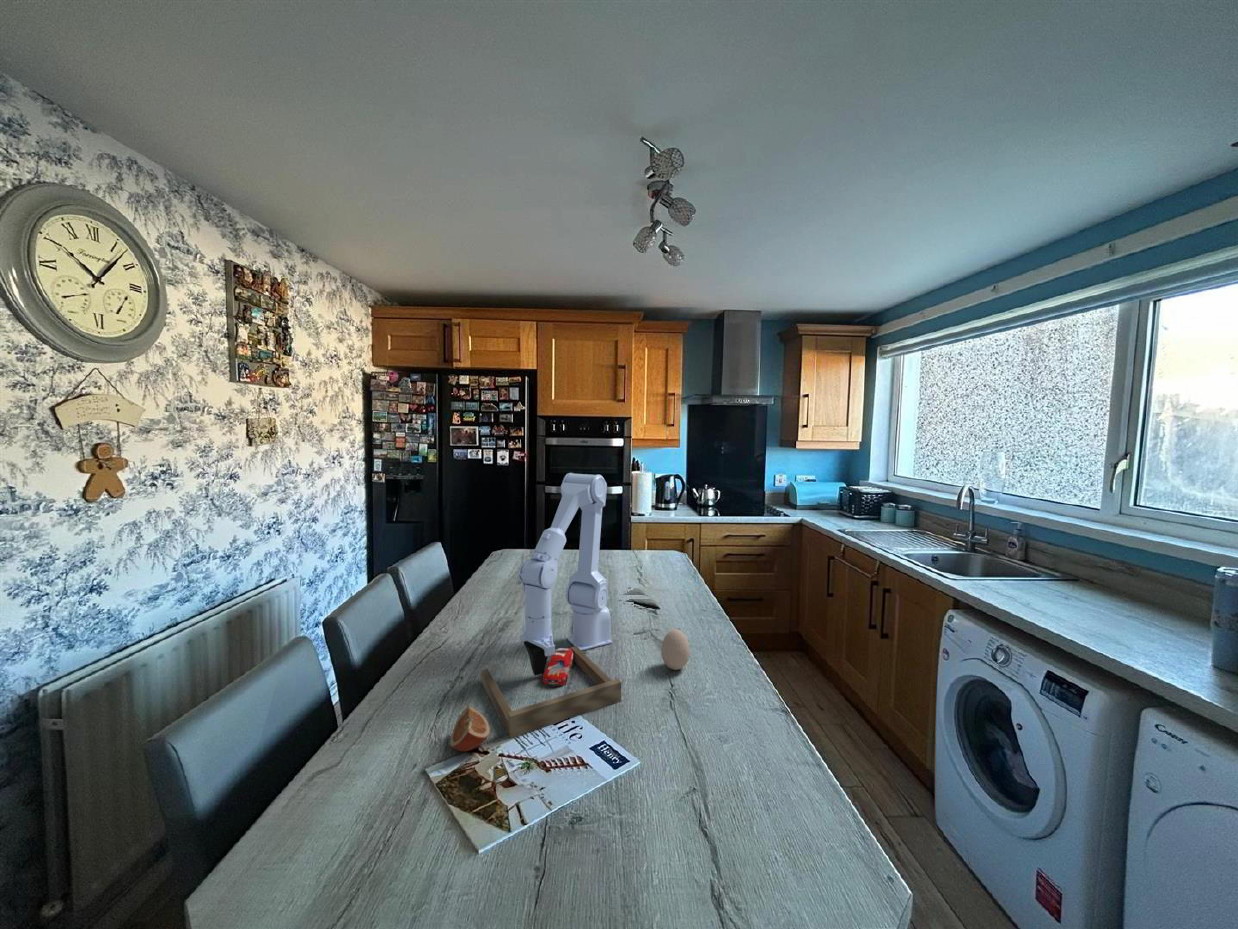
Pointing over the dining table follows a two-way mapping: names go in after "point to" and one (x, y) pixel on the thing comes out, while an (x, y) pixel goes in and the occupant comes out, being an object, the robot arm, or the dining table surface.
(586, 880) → the dining table surface
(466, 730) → the fruit slice
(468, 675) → the dining table surface
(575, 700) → the garage bay
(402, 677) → the dining table surface
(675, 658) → the egg
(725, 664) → the dining table surface
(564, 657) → the race car
